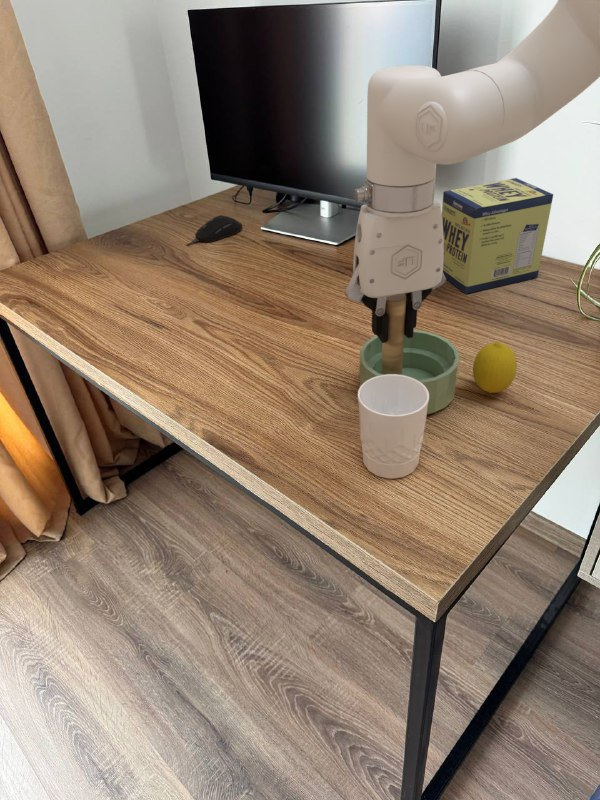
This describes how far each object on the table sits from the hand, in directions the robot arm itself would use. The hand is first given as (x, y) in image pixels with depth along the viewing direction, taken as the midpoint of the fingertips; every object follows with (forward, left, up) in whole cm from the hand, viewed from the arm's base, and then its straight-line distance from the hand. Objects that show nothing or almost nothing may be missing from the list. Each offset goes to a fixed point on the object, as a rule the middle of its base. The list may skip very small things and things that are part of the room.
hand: (393, 334), depth 76 cm
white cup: (+5, +13, -10) cm, 17 cm away
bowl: (-2, 0, -10) cm, 10 cm away
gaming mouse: (+16, -70, -10) cm, 72 cm away
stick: (0, 0, -7) cm, 7 cm away
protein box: (-30, -29, -10) cm, 43 cm away
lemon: (-13, +4, -10) cm, 17 cm away
